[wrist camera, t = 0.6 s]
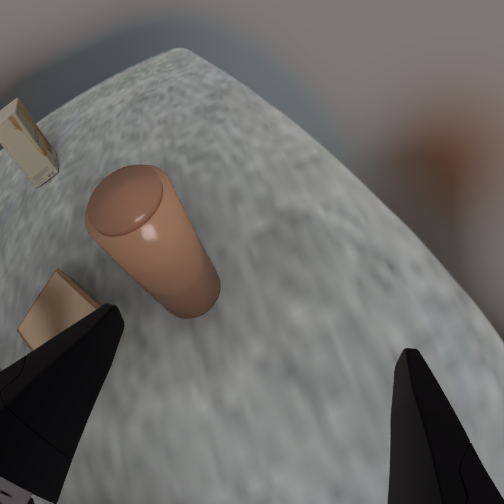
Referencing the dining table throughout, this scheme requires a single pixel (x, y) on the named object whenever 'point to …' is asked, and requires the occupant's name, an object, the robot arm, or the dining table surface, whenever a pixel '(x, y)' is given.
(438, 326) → the dining table surface
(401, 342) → the dining table surface
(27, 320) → the plinth
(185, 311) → the tan lidded canister
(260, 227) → the dining table surface
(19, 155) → the skincare box
